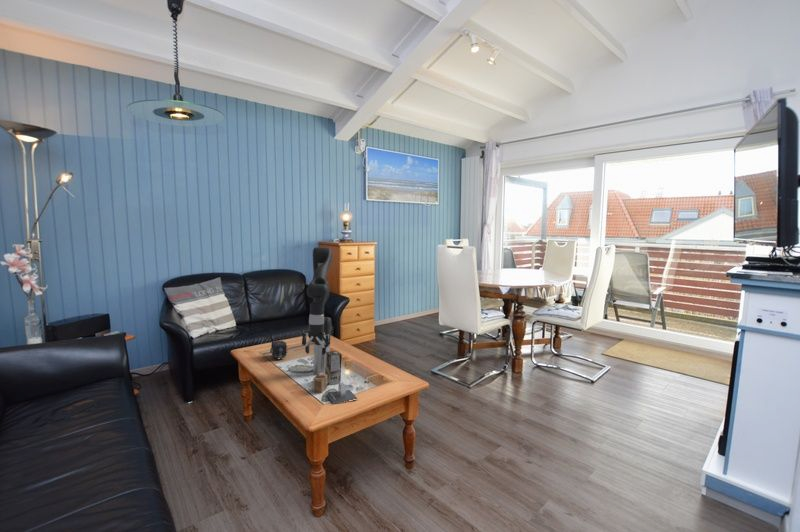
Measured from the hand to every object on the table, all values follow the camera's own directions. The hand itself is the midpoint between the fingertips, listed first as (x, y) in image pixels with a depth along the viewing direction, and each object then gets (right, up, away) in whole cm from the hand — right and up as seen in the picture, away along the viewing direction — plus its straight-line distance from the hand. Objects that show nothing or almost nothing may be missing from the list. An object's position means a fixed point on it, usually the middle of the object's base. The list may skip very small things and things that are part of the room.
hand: (315, 353), depth 187 cm
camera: (-38, -17, +57) cm, 71 cm away
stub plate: (+14, -20, -6) cm, 26 cm away
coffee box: (+6, -20, +16) cm, 26 cm away
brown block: (+2, -20, +3) cm, 20 cm away
